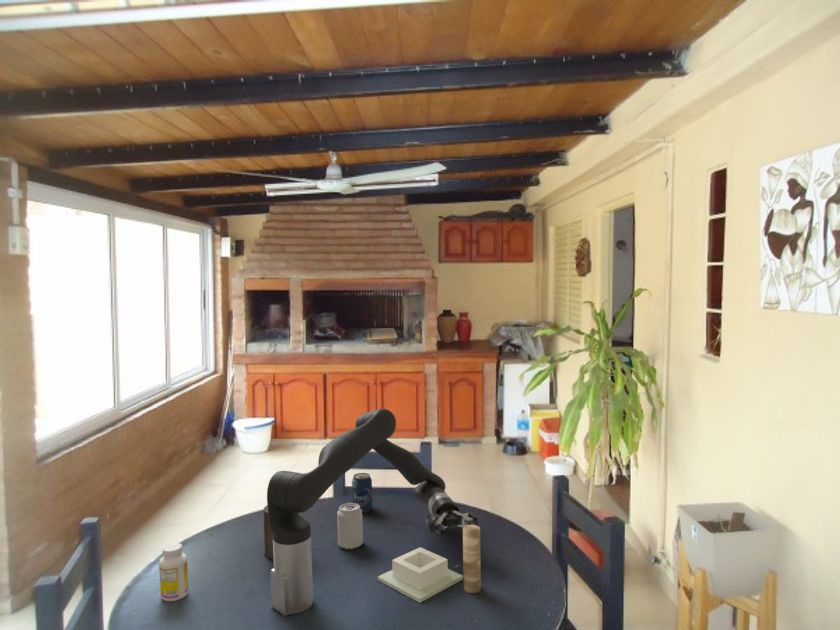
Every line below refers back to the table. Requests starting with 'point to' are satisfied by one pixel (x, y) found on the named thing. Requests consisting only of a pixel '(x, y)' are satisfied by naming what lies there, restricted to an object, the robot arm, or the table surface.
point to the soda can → (362, 491)
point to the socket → (420, 574)
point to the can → (350, 526)
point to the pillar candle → (268, 536)
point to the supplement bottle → (173, 573)
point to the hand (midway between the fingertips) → (459, 531)
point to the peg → (471, 559)
